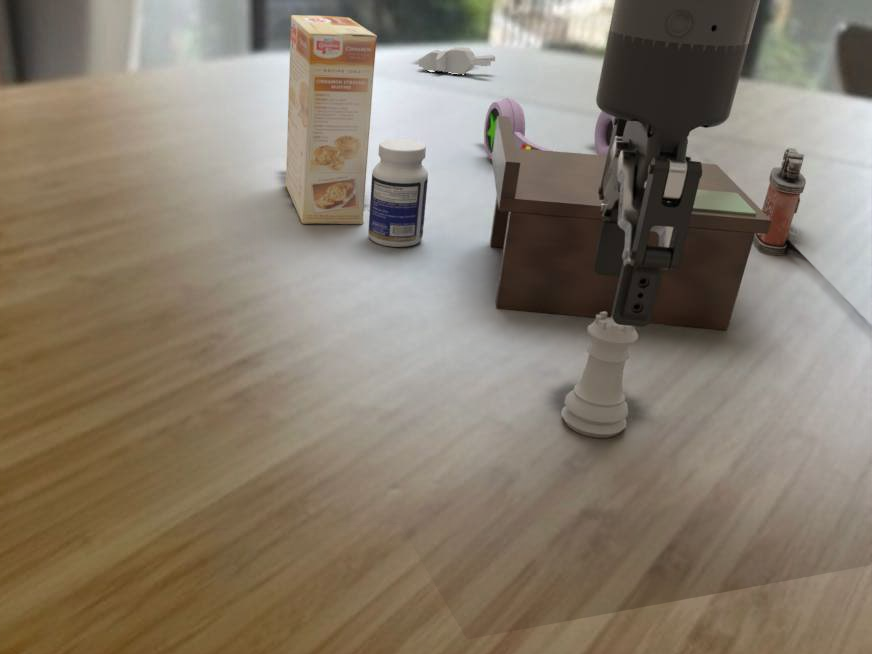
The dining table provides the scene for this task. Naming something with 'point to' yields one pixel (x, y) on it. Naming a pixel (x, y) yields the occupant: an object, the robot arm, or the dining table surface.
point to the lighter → (781, 203)
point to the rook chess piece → (601, 381)
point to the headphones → (517, 119)
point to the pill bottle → (398, 194)
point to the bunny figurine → (454, 60)
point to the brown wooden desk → (579, 232)
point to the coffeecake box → (329, 117)
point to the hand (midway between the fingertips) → (618, 296)
